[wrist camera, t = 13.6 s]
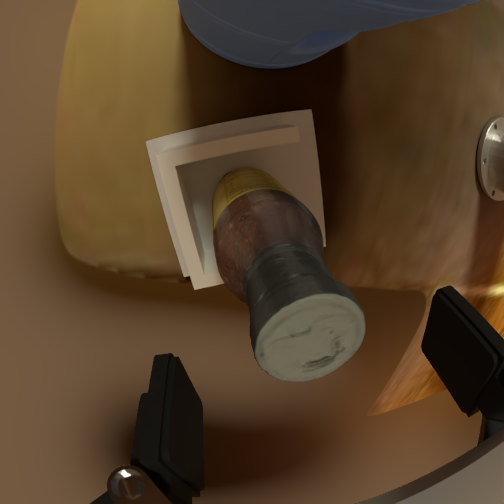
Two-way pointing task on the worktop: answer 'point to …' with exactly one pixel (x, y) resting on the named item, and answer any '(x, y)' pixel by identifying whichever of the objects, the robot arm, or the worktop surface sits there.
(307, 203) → the end holder
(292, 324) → the sauce bottle
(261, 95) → the worktop surface
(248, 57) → the water jug
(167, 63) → the worktop surface
